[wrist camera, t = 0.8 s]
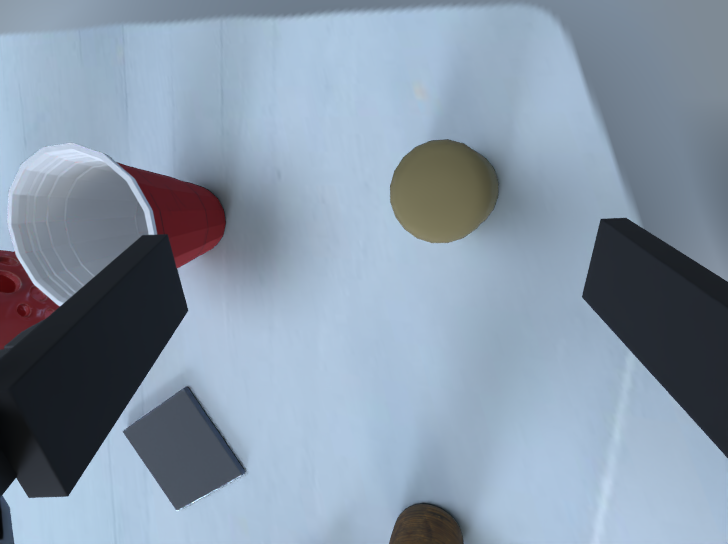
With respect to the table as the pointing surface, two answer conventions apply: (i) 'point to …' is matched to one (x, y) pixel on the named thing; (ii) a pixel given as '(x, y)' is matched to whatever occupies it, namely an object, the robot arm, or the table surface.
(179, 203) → the plastic cup
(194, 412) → the slate coaster
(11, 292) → the flower pot
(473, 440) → the table surface
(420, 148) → the cork
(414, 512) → the utensil holder
